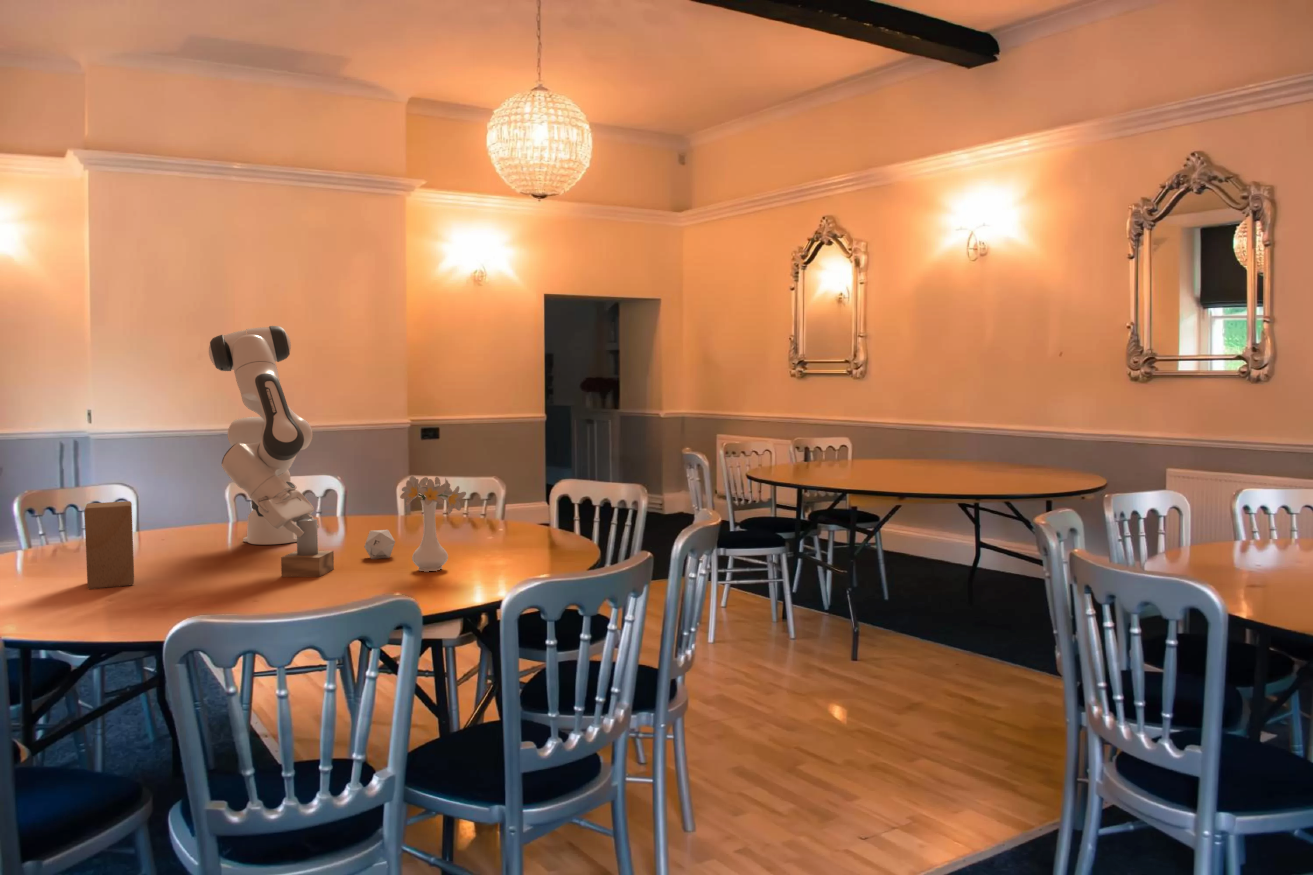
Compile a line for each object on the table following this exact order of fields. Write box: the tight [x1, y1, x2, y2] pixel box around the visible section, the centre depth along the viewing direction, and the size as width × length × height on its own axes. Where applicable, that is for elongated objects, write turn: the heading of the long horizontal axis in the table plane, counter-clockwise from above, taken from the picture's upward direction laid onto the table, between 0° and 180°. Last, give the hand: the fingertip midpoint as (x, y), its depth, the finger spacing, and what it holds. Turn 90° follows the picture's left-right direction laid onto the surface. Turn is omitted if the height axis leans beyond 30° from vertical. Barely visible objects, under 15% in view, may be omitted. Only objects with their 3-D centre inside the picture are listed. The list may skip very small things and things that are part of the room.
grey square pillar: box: [296, 518, 319, 556], centre depth 259 cm, size 5×5×9 cm
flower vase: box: [399, 475, 467, 573], centre depth 262 cm, size 13×18×25 cm
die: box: [364, 529, 396, 560], centre depth 280 cm, size 8×9×10 cm
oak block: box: [280, 550, 335, 578], centre depth 259 cm, size 10×10×5 cm
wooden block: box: [84, 500, 135, 590], centre depth 245 cm, size 10×10×20 cm
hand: (309, 531), depth 258 cm, fingers open, 8 cm apart
